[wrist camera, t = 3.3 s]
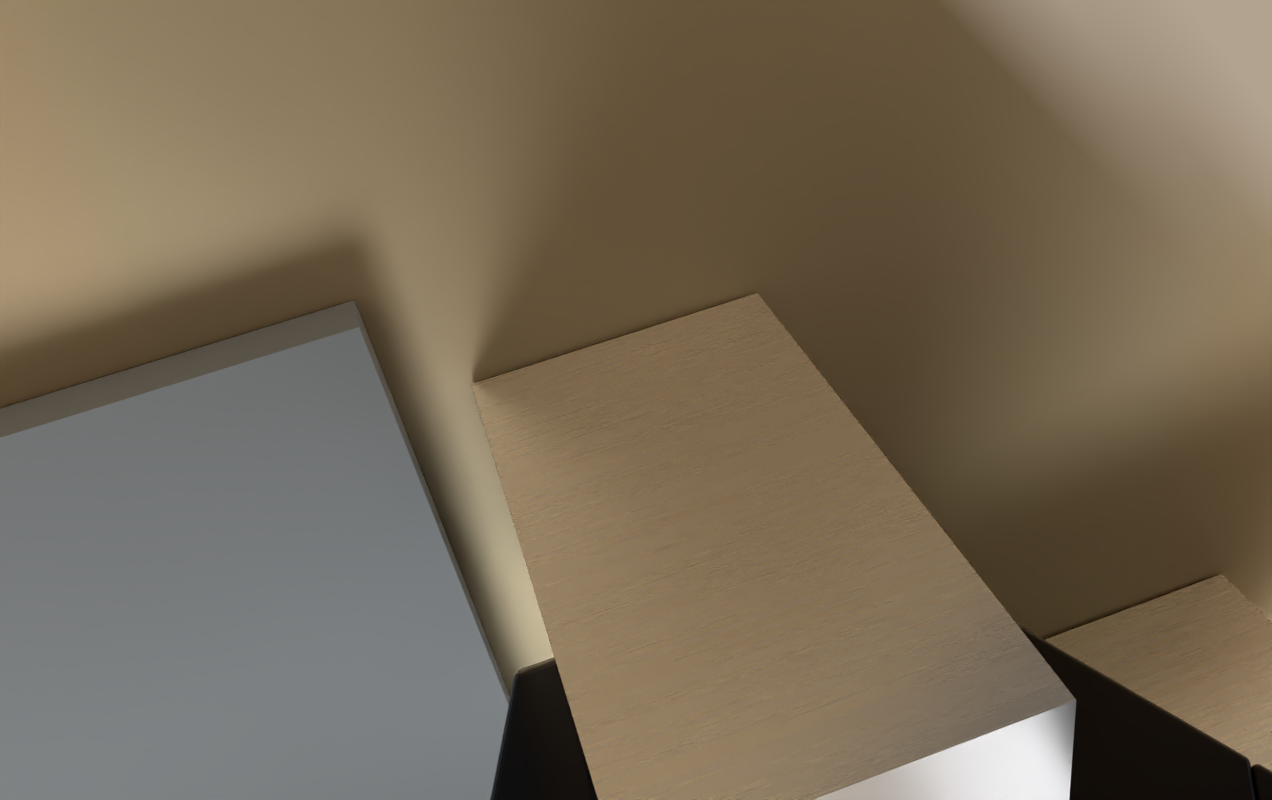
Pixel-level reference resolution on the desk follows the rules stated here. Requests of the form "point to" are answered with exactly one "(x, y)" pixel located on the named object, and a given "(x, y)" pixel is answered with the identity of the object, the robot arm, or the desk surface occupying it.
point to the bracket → (801, 591)
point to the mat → (235, 586)
